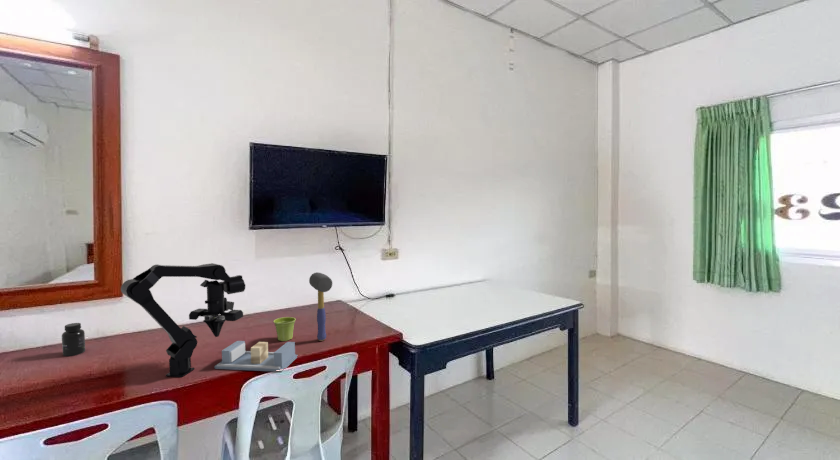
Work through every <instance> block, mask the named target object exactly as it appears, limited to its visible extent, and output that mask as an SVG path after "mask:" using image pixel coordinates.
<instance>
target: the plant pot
mask: <svg viewBox="0 0 840 460" xmlns="http://www.w3.org/2000/svg"><path fill="white" fill-rule="evenodd" d="M296 320H297V319H296V318H295V317H291V316H285V317H284V316H283V317H278V318H276V319H274V320H273V323H274V326H275V330H276V335H277V341H281V342H286V341H287V342H289V340H292V339H293V336H294V335H293V334H294V328H295V327H294V326H295V322H296Z"/></svg>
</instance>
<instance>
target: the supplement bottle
mask: <svg viewBox="0 0 840 460" xmlns="http://www.w3.org/2000/svg"><path fill="white" fill-rule="evenodd" d="M61 343H62V344H61V347H62V348H61V349H62V355H63V356H64V357H74V356H78V355H81V354H83V353H85V352H86V335H85V330H84V329H82V324H81V322H73V323H72V322H71V323H68V324H65V325H64V332H63V333H62V334H61Z"/></svg>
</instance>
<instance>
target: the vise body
mask: <svg viewBox="0 0 840 460" xmlns="http://www.w3.org/2000/svg"><path fill="white" fill-rule="evenodd" d="M295 343H296V341H287V342H285V343H284V344H283V345H281V346H280V347H279V348H278V349H277V350H275V351H268V358H267V359H265V360H264V361H263V362H262V363H260V364H254V363H251V350H245V351H246V353H245V354H243V355H242V356H241V357H239V358H238V359H236V360H235V361H233V362H232V363H231V364H222V360H221V361H220V362H219V363H217V364H216V365H214V369H216V370H236V371H256V372H257V371H258V372H259V371H260V372H274V371H276V370H280V369H284V368H286V369H287V368H288V367H289V366H290V365H291V364H292V363H293V362H294V361H295V360H296V359H297V358H298V357H297V356H298V354H296V344H295Z"/></svg>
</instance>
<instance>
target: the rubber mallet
mask: <svg viewBox="0 0 840 460" xmlns="http://www.w3.org/2000/svg"><path fill="white" fill-rule="evenodd" d="M308 279H309V280H308V281H309V285H310V286H311V287H312V288H314V290H316V291H317V312H316V323H317V335H316V339H317V340H318V341H320V342H322V341H326V338H327V333H326V332H327V331H326V321H327V318H326V315H327V314H326V308H325V295H324V293H327V292H328V291H330V290H331V289H332V287H333V280H332V278H331V277H329V275H326V274H324V273H322V272H314V273H312V274H311V275H310V277H309V278H308Z"/></svg>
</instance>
